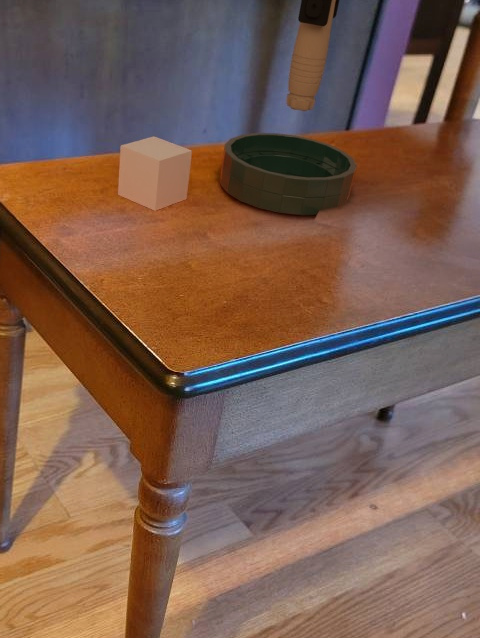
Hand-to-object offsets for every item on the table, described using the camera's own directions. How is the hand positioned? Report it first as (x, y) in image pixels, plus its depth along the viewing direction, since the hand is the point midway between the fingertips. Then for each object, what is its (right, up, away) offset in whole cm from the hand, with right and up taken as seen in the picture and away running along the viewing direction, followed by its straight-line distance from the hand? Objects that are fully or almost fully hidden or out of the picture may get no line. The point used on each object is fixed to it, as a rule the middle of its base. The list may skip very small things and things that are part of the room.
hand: (317, 18), depth 84 cm
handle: (-1, -8, +6) cm, 10 cm away
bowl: (-2, -16, +12) cm, 21 cm away
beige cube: (-19, -18, +7) cm, 27 cm away
